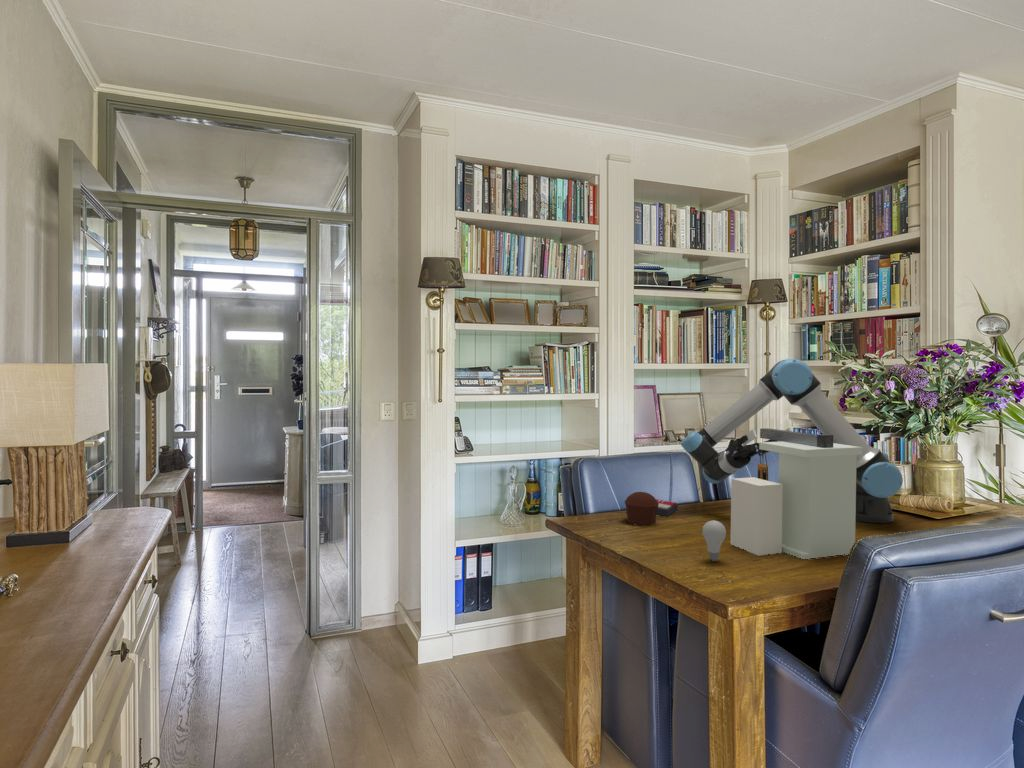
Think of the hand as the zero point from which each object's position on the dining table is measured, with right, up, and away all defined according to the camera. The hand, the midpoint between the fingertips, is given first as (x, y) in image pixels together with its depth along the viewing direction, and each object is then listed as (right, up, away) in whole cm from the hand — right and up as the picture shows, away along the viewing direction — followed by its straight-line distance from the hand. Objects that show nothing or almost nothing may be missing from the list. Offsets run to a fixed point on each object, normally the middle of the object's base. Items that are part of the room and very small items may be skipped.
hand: (773, 432), depth 198 cm
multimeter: (+24, -31, +60) cm, 71 cm away
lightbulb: (-27, -33, -26) cm, 50 cm away
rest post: (-11, -32, -14) cm, 37 cm away
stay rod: (+3, -2, -8) cm, 9 cm away
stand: (+5, -33, -13) cm, 35 cm away
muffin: (-37, -32, +17) cm, 52 cm away
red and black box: (-30, -32, +34) cm, 55 cm away
